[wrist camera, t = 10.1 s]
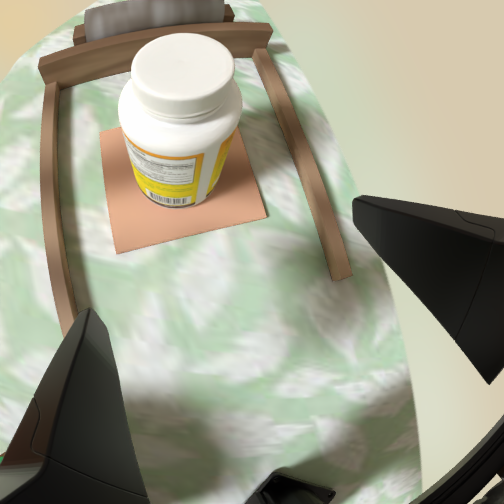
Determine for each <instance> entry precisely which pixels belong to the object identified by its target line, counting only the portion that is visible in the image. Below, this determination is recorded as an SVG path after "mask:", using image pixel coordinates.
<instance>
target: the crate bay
mask: <svg viewBox="0 0 504 504" xmlns="http://www.w3.org/2000/svg"><path fill="white" fill-rule="evenodd" d="M234 17H235V15H234V13H233V11H232V9H231V7H230V5H229V4H224V0H127V1H122V2H117V3H112V4H108V5H103V6H99V7H95V8H91V9H87V10H86V11H85V17H84V24H81V25H78V26H75V29H74V35H73V42H74V46H73V47H70V48H67V49H64V50H61V51H58V52H55V53H52V54H49V55H47V56H44V57H41V58H40V60H39V64H38V69H39V71H40V74H41V76H42V78H43V81H44V83H45V85H46V86H45V93H44V102H43V112H42V124H41V142H40V191H41V209H42V222H43V232H44V241H45V249H46V256H47V263H48V269H49V275H50V281H51V286H52V291H53V296H54V301H55V305H56V310H57V314H58V318H59V322H60V326H61V330H62V334H63V337H64V338H65V336H66V334H67V333H68V331H69V329H70V327H71V326H72V324H73V322H74V321H75V319H76V318H77V316H78V311H77V307H76V302H75V298H74V293H73V289H72V284H71V279H70V274H69V268H68V263H67V257H66V251H65V244H64V237H63V229H62V220H61V211H60V199H59V185H58V160H57V133H58V108H59V94H60V90H61V89H65V88H68V87H71V86H74V85H77V84H81V83H84V82H88V81H91V80H95V79H99V78H102V77H106V76H110V75H115V74H119V73H123V72H128V71H131V66H132V62H133V60H134V58H135V56H136V54H137V53H138V52H139V50H140V49H141V48H143V47H144V46H145V45H146V44H148V43H149V42H151V41H153V40H155V39H157V38H160V37H162V36H166V35H170V34H176V33H193V34H200V35H204V36H207V37H210V38H212V39H214V40H216V41H218V42H220V43H221V44H222V45H224V46H225V47H226V48H227V49H228V50H229V52H230V53H231V55H232V56H233V58H248V57H252V59H253V61H254V64H255V66H256V68H257V70H258V73H259V75H260V77H261V80H262V82H263V84H264V87H265V89H266V92H267V94H268V96H269V99H270V101H271V104H272V106H273V109H274V111H275V114H276V116H277V119H278V121H279V124H280V126H281V129H282V131H283V134H284V137H285V139H286V142H287V145H288V147H289V150H290V153H291V155H292V158H293V161H294V163H295V166H296V169H297V172H298V175H299V177H300V180H301V183H302V186H303V189H304V192H305V195H306V198H307V201H308V204H309V207H310V210H311V213H312V216H313V219H314V222H315V225H316V228H317V231H318V234H319V237H320V241H321V244H322V247H323V250H324V254H325V257H326V260H327V264H328V267H329V270H330V274H331V277H332V281H337V280H342V279H345V278H347V277H350V276H353V274H352V271H351V267H350V264H349V261H348V257H347V254H346V251H345V247H344V244H343V241H342V238H341V235H340V231H339V228H338V225H337V222H336V219H335V216H334V213H333V210H332V207H331V204H330V201H329V198H328V196H327V193H326V190H325V187H324V184H323V182H322V179H321V176H320V173H319V171H318V168H317V165H316V163H315V160H314V158H313V155H312V152H311V150H310V147H309V145H308V142H307V140H306V137H305V135H304V132H303V130H302V127H301V125H300V123H299V120H298V118H297V115H296V113H295V111H294V108H293V106H292V104H291V102H290V99H289V97H288V95H287V93H286V90H285V88H284V86H283V84H282V82H281V79H280V77H279V75H278V73H277V71H276V69H275V67H274V65H273V63H272V60H271V58H270V56H269V54H268V52H267V50H266V47H267V44H268V42H269V40H270V37H271V35H272V33H273V29H272V28H271V26H270V24H269V23H253V22H233V20H234ZM100 145H101V156H102V166H103V175H104V183H105V191H106V198H107V205H108V211H109V218H110V223H111V229H112V235H113V240H114V245H115V250H116V254H121V253H124V252H128V251H132V250H136V249H140V248H144V247H148V246H151V245H155V244H159V243H163V242H167V241H171V240H175V239H179V238H184V237H188V236H192V235H196V234H200V233H204V232H208V231H213V230H217V229H221V228H225V227H230V226H234V225H238V224H243V223H247V222H251V221H256V220H260V219H265V218H266V217H267V216H266V213H265V210H264V206H263V203H262V200H261V197H260V193H259V190H258V187H257V184H256V181H255V178H254V174H253V171H252V168H251V165H250V162H249V159H248V156H247V153H246V149H245V146H244V143H243V140H242V137H241V134H240V131H239V128H238V125H237V128H236V131H235V134H234V136H233V139H232V142H231V145H230V147H229V150H228V153H227V156H226V159H225V162H224V165H223V168H222V171H221V174H220V177H219V179H218V182H217V184H216V186H215V188H214V190H213V191H212V192H211V194H210V195H209V196H208V197H207V198H206V199H204V200H203V201H202V202H200V203H198V204H196V205H194V206H192V207H189V208H184V209H168V208H164V207H161V206H158V205H156V204H154V203H153V202H151V201H150V200H149V199H147V198H146V197H145V196H144V194H143V193H142V192H141V190H140V188H139V186H138V184H137V181H136V178H135V175H134V171H133V168H132V164H131V161H130V157H129V154H128V150H127V147H126V143H125V140H124V136H123V132H122V129H121V127H118V128H114V129H110V130H106V131H102V132H100Z"/></svg>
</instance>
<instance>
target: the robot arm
mask: <svg viewBox="0 0 504 504" xmlns="http://www.w3.org/2000/svg"><path fill="white" fill-rule="evenodd" d="M352 213H353V223H354V225H355V226H356V228H357V229H358V230H359V231H360V233H361V234H362V235H363V236H364V238H365V239H366V240H367V241H368V243H369V244H370V245H371V246H372V248H373V249H374V250H375V251H376V253H377V254H378V255H379V256H380V257H381V258H382V259H383V260H384V262H385V263H386V264H387V265H388V266H389V267H390V268H391V269H392V270H393V271H394V272H395V273H396V274H397V275H398V276H399V277H400V278H401V279H402V281H403V282H404V283H405V284H406V285H407V286H408V287H409V288H410V289H411V290H412V292H413V293H414V294H415V295H416V296H417V297H418V298H419V299H420V300H421V302H422V303H423V304H424V305H425V306H426V307H427V309H428V310H429V311H430V312H431V313H432V314H433V316H434V317H435V318H436V319H437V320H438V321H439V323H440V324H441V325H442V326H443V327H444V329H445V330H446V331H447V332H448V333H449V334H450V336H451V337H452V338H453V340H455V342H456V343H457V345H458V346H459V347H460V348H461V350H462V351H463V352H464V353H465V355H466V356H467V357H468V359H469V360H470V361H471V363H472V364H473V365H474V367H475V368H476V369H477V371H478V372H479V373H480V375H481V376H482V377H483V379H484V380H485V381H486V383H487V384H489V385H490V384H491V382H492V381H493V380H494V379H495V378H496V377H497V376H498V374H499V373H500V372H501V371H502V370H503V368H504V218H498V217H491V216H485V215H479V214H474V213H468V212H464V211H458V210H455V211H454V210H453V209H448V208H443V207H437V206H432V205H426V204H420V203H414V202H408V201H402V200H395V199H388V198H381V197H375V196H367V195H361V196H359V197H356V198H354V199H353V201H352ZM496 474H498V475H499V476H500V478H501V479H502V481H500V482H499V483H497V484H496V485H495V486H494V487H492V488H491V489H490V490H489V491H488V492H487V493H486V494H485V495H484V496H483V498H482V499H479V500H476V501H475V502H474V503H473V504H504V415H503V416H502V417H501V419H500V420H499V421H498V422H497V423H496V425H495V426H494V427H493V428H492V429H491V430H490V431H489V432H488V434H487V435H486V436H485V437H484V438H483V439H482V440H481V441H480V442H479V443H478V444H477V445H476V446H475V447H474V448H473V449H472V450H471V451H470V452H469V453H468V454H467V455H466V456H465V457H464V458H463V459H462V460H461V461H460V462H459V463H458V464H457V465H456V466H455V467H454V468H452V469H451V470H450V471H449V472H448V473H447V474H446V475H445V476H443V477H442V478H441V479H440V480H439V481H438V482H436V483H435V484H434V485H433V486H431V487H430V488H429V489H428V490H426V491H425V492H424V493H422V494H421V495H420V496H418V497H417V498H416V499H414V500H413V501H412V502H410V503H409V504H467V503H468V502H470V501H471V500H472V499H473V498H474V497H475V496H476V495H477V494H478V493H479V492H480V491H481V490H482V489H483V488H484V487H485V486H486V485H487V484H488V483H489V481H490V480H491V479H492V478H493V477H494V476H495V475H496ZM277 477H278V479H277V480H274V479H275V478H277ZM330 493H331V494H330ZM329 494H330V495H329ZM335 495H336V492H335V491H334V490H333V489H331V488H327V487H323V486H320V485H316V484H313V483H309V482H306V481H303V480H299V479H296V478H293V477H290V476H287V475H284V474H281V473H278V472H275V473H272V474H271V475H270V476H269V477H268V478H267V479H266V481H265V482H264V483H263V484H262V486H261V487H260V488H259V489H258V490H257V492H255V493H254V494H253V495H252V496H251V497H250V498H249V500H248V501H247V502H246V503H245V504H329V503H330V501H331V500H332V499H333V498H334V497H335ZM147 497H148V496H147V493H146V490H145V486H144V483H143V480H142V477H141V473H140V470H139V466H138V463H137V459H136V456H135V452H134V448H133V444H132V440H131V436H130V432H129V427H128V423H127V418H126V413H125V408H124V403H123V398H122V392H121V386H120V380H119V375H118V370H117V366H116V362H115V358H114V354H113V350H112V346H111V342H110V338H109V333H108V330H107V327H106V326H105V324H104V323H103V321H102V320H101V319H100V317H99V316H98V315H97V313H96V312H95V311H94V310H93V309H92V308H88V309H85V310H83V311H81V312H80V313H79V314H78V316H77V318H76V319H75V321H74V322H73V324H72V326H71V327H70V329H69V331H68V333H67V334H66V336H65V338H64V339H63V341H62V343H61V345H60V346H59V348H58V350H57V352H56V354H55V355H54V357H53V359H52V361H51V363H50V364H49V366H48V368H47V370H46V372H45V374H44V376H43V378H42V380H41V382H40V384H39V386H38V388H37V390H36V392H35V394H34V397H33V398H32V400H31V402H30V404H29V406H28V408H27V410H26V412H25V415H24V417H23V419H22V421H21V423H20V425H19V427H18V429H17V431H16V433H15V435H14V437H13V439H12V440H11V442H10V444H9V447H8V449H7V451H6V453H5V455H4V457H3V459H2V461H1V463H0V504H150V501H149V498H147Z"/></svg>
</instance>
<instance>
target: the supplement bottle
mask: <svg viewBox="0 0 504 504" xmlns="http://www.w3.org/2000/svg"><path fill="white" fill-rule="evenodd" d="M234 71H235V63H234V59H233V56H232V55H231V53H230V52H229V50H228V49H227V48H226V47H225V46H224V45H222V44H221V43H220V42H218V41H216V40H214V39H212V38H210V37H207V36H204V35H200V34H193V33H176V34H170V35H166V36H162V37H160V38H157V39H155V40H153V41H151V42H149V43H148V44H146V45H145V46H144V47H143V48H141V49H140V50H139V52H138V53H137V54H136V56H135V58H134V60H133V62H132V66H131V76H132V78H131V79H130V80H129V81H128V82H127V84H126V85H125V87H124V89H123V91H122V93H121V96H120V99H119V105H118V114H119V121H120V125H121V129H122V132H123V136H124V140H125V143H126V147H127V150H128V154H129V157H130V161H131V164H132V168H133V171H134V175H135V178H136V181H137V184H138V186H139V188H140V190H141V192H142V193H143V194H144V196H145V197H146V198H147V199H149V200H150V201H151V202H153V203H154V204H156V205H158V206H161V207H164V208H168V209H184V208H189V207H192V206H194V205H196V204H198V203H200V202H202V201H203V200H204V199H206V198H207V197H208V196H209V195H210V194H211V192H212V191H213V190H214V188H215V186H216V184H217V182H218V179H219V177H220V174H221V171H222V168H223V165H224V162H225V159H226V156H227V153H228V150H229V147H230V145H231V142H232V139H233V136H234V134H235V131H236V128H237V125H238V123H239V120H240V116H241V112H242V96H241V92H240V89H239V87H238V85H237V83H236V82H235V80H234V79H233V76H234Z"/></svg>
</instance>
